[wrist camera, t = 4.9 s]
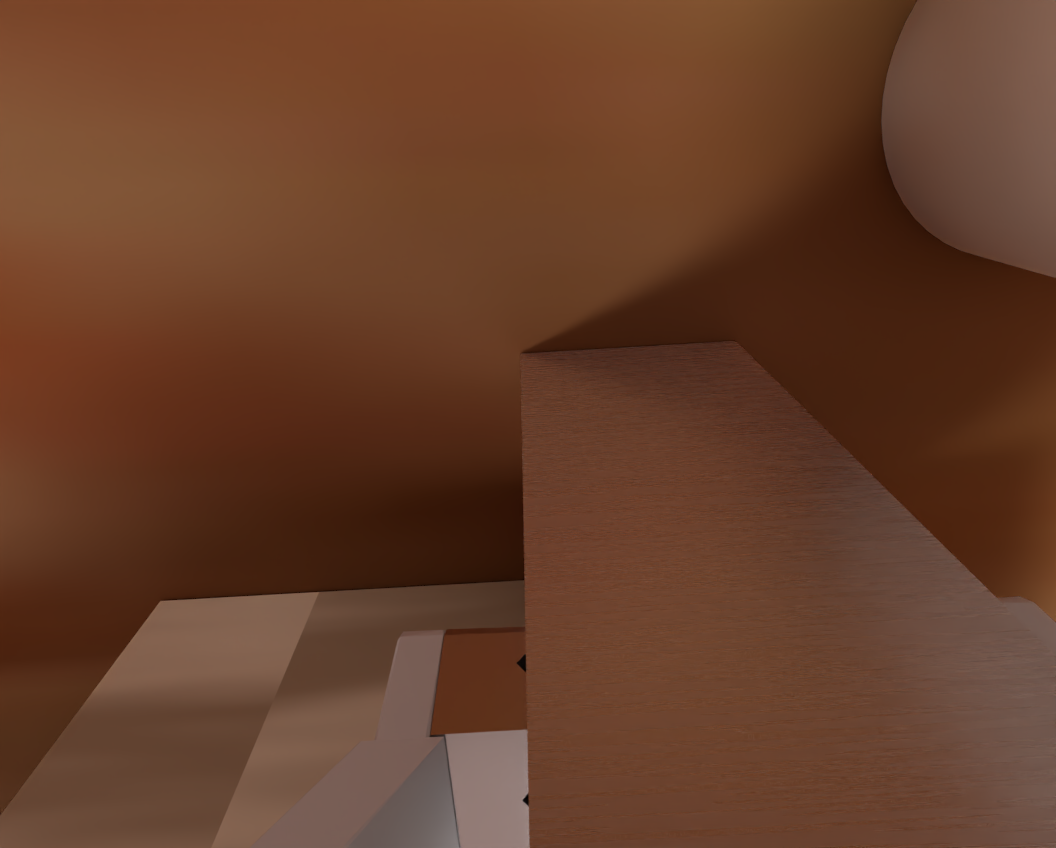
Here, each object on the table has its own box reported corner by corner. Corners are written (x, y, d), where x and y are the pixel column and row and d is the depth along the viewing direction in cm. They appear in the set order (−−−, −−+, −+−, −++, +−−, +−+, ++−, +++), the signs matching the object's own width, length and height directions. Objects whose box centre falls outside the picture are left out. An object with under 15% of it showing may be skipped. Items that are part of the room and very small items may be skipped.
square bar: (520, 353, 13) (540, 1460, 2) (735, 340, 13) (1810, 1400, 2) (532, 538, 15) (578, 1736, 4) (725, 527, 15) (1334, 1701, 4)
